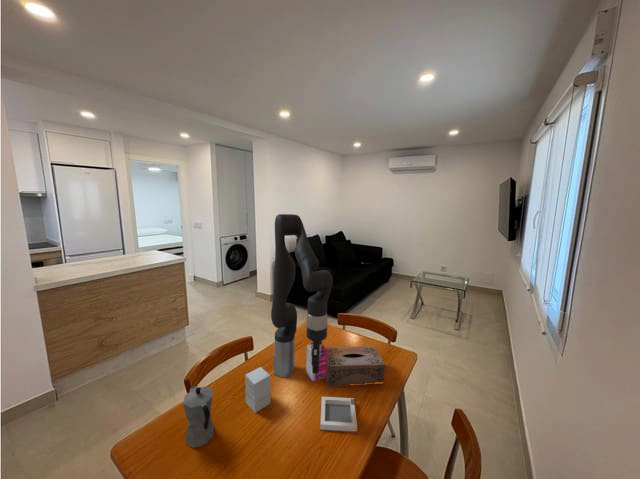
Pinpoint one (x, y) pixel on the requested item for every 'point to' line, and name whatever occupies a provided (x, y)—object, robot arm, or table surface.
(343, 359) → the tissue box cover
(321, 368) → the supplement box
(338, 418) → the socket plate
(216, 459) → the table surface
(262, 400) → the supplement box
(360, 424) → the table surface
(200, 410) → the coffeepot
